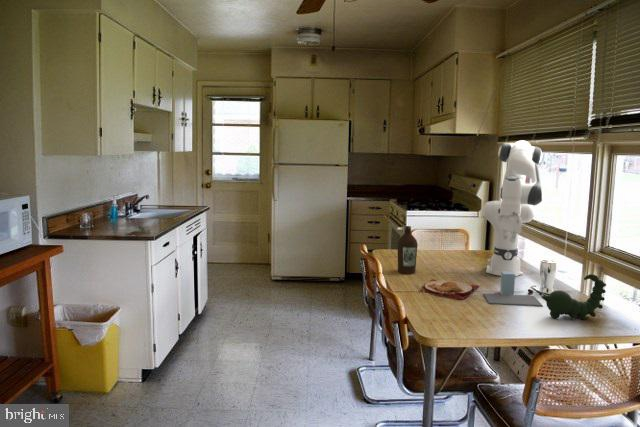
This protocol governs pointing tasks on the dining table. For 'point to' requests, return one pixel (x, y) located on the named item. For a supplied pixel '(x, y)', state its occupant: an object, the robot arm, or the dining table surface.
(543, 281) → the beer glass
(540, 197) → the robot arm
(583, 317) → the toy figurine
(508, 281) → the slate block
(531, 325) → the dining table surface
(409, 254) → the brown bottle
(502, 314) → the dining table surface
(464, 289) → the plate with food
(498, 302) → the charcoal mat
